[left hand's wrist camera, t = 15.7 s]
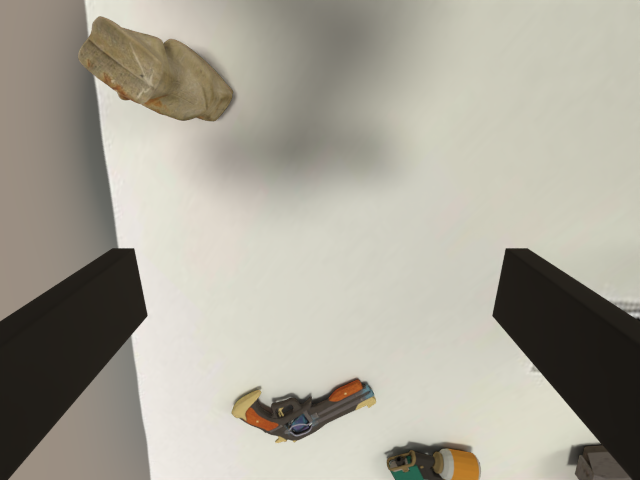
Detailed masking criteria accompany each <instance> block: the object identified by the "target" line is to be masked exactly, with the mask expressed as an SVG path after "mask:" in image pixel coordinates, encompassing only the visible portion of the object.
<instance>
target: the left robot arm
mask: <svg viewBox="0 0 640 480" xmlns="http://www.w3.org/2000/svg"><path fill="white" fill-rule="evenodd" d="M147 316H148V315H147V310H146V305H145V300H144V295H143V290H142V285H141V280H140V275H139V270H138V265H137V260H136V255H135V250H134V248H113V249H111V250H109V251H108V252H106V253H105V254H103V255H102V256H100V257H99V258H97V259H96V260H94V261H92V262H91V263H89V264H88V265H86V266H85V267H83V268H82V269H80V270H79V271H77V272H75V273H74V274H72V275H71V276H69V277H68V278H66V279H65V280H63V281H62V282H60V283H59V284H57V285H55V286H54V287H52V288H51V289H49V290H48V291H46V292H45V293H43V294H42V295H40V296H39V297H37V298H36V299H34V300H33V301H31V302H29V303H28V304H26V305H25V306H23V307H22V308H20V309H19V310H17V311H15V312H14V313H12V314H11V315H9V316H8V317H6V318H5V319H3V320H2V321H0V480H8V479H9V478H10V477H11V476H12V474H13V473H14V472H15V471H16V470H17V468H18V467H19V466H20V465H21V464H22V463H23V461H24V460H25V459H26V458H27V457H28V456H29V454H30V453H31V452H32V451H33V450H34V449H35V447H36V446H37V445H38V444H39V443H40V441H41V440H42V439H43V438H44V437H45V436H46V434H47V433H48V432H49V431H50V430H51V429H52V427H53V426H54V425H55V424H56V423H57V422H58V420H59V419H60V418H61V417H62V416H63V415H64V413H65V412H66V411H67V410H68V409H69V407H70V406H71V405H72V404H73V403H74V402H75V400H76V399H77V398H78V397H79V396H80V395H81V393H82V392H83V391H84V390H85V389H86V387H87V386H88V385H89V384H90V383H91V382H92V380H93V379H94V378H95V377H96V376H97V375H98V373H99V372H100V371H101V370H102V369H103V368H104V366H105V365H106V364H107V363H108V362H109V360H110V359H111V358H112V357H113V356H114V355H115V353H116V352H117V351H118V350H119V349H120V348H121V346H122V345H123V344H124V343H125V342H126V341H127V339H128V338H129V337H130V336H131V335H132V334H133V332H134V331H135V330H136V329H137V328H138V327H139V325H140V324H141V323H142V322H143V321H144V319H145V318H146V317H147ZM492 316H493V317H494V318H495V319H496V321H497V322H498V323H499V324H500V325H501V327H502V328H503V329H504V330H505V331H506V332H507V334H508V335H509V336H510V337H511V338H512V339H513V341H514V342H515V343H516V344H517V345H518V346H519V348H520V349H521V350H522V351H523V352H524V354H525V355H526V356H527V357H528V358H529V359H530V361H531V362H532V363H533V364H534V365H535V366H536V368H537V369H538V370H539V371H540V372H541V373H542V375H543V376H544V377H545V378H546V379H547V380H548V382H549V383H550V384H551V385H552V386H553V388H554V389H555V390H556V391H557V392H558V393H559V395H560V396H561V397H562V398H563V399H564V400H565V402H566V403H567V404H568V405H569V406H570V407H571V409H572V410H573V411H574V412H575V413H576V415H577V416H578V417H579V418H580V419H581V420H582V422H583V423H584V424H585V425H586V426H587V427H588V429H589V430H590V431H591V432H592V433H593V434H594V436H595V437H596V438H597V439H598V440H599V441H600V443H601V444H602V445H603V446H604V447H605V449H606V450H607V451H608V452H609V453H610V454H611V456H612V457H613V458H614V459H615V460H616V461H617V463H618V464H619V465H620V466H621V467H622V468H623V470H624V471H625V472H626V473H627V474H628V476H629V477H630V478H631V479H632V480H640V321H638V320H637V319H635V318H634V317H632V316H631V315H629V314H628V313H626V312H625V311H623V310H621V309H620V308H618V307H617V306H615V305H614V304H612V303H611V302H609V301H608V300H606V299H605V298H603V297H601V296H600V295H598V294H597V293H595V292H594V291H592V290H591V289H589V288H588V287H586V286H585V285H583V284H581V283H580V282H578V281H577V280H575V279H574V278H572V277H571V276H569V275H568V274H566V273H565V272H563V271H561V270H560V269H558V268H557V267H555V266H554V265H552V264H551V263H549V262H548V261H546V260H545V259H543V258H541V257H540V256H538V255H537V254H535V253H534V252H532V251H531V250H529V249H528V248H506V250H505V255H504V260H503V265H502V270H501V275H500V280H499V285H498V290H497V295H496V300H495V305H494V310H493V315H492Z"/></svg>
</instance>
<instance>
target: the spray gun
mask: <svg viewBox="0 0 640 480" xmlns="http://www.w3.org/2000/svg"><path fill="white" fill-rule="evenodd" d="M411 454H412V455H411ZM409 455H411V457H410V456H409ZM405 456H407V457H406V458H405ZM393 459H395V461H392V462H391V463H390V465H389V462H390V460H393ZM432 466H433V469H434V470H432V468H431V467H432ZM387 467H388V469H389V470H390V471H391V473H392V475H393V477H394V479H395V480H479V479H480V476H481V467H480V462H479V461H478V459H477V457H476V456H475V455H474V454H473V453H471V452H465V451H459V450H453V449H441V450H440V451H439V452H435V453H434V454H433V456H430V455H426V454H422V453H418V452H414V451H413V450H410V451H409V453H405V454H401V455H397V456H393V457H390V458H388V459H387Z"/></svg>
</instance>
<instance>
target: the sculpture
mask: <svg viewBox="0 0 640 480" xmlns="http://www.w3.org/2000/svg"><path fill="white" fill-rule="evenodd" d="M78 58H79V61H80V62H81V64H82V65H83V66H84V67H85V68H86V69H87V70H89V71H90V72H91V73H92V74H93V75H95V76H96V77H97V78H98V79H100V80H101V81H103V82H104V83H105V84H107V85H108V86H109V87H111V88H112V89H113V90H115V91H116V92H117V93H118V95H119V97H120V98H121V99H122V100H132V101H134V102H136V103H139V104H142V105H143V106H145V107H147V108H149V109H151V110H153V111H155V112H157V113H159V114H162V115H166V116H169V117H172V118H175V119H177V120H182V121H185V120H190V119H193V118H199V119H202V120H206V121H216V120H217V119H218V118H219V117H220V116H221V114H222V113H223V112H224V111H225V109H226V108H227V106H228V105H229V103H230V101H231V99H232V94H233V91H232V89H231V88H230V87H229V86H228V85H227V84H226V83H225V82H224V80H223V79H222V78H221V77H220V76H219V74H218V73H217V72H216V71H215V70H214V69H213V68H212V67H211V66H210V65H209V64H208V63H207V62H206V61H205V60H203V59H202V58H201V57H200V56H199V55H198V54H196V53H195V52H194V51H193V50H191V49H190V48H189V47H188V46H186V45H185V44H183V43H181V42H179V41H177V40H174V39H169V40H167V41H166V42H165V43H164V44H163V42H162V40H161V39H159V38H157V37H154V36H151V35H147V34H143V33H139V32H135V31H132V30H129V29H125V28H122V27H120V26H119V25H118V24H116V23H115V22H113V21H111V20H109V19H107V18H104V17H101V16H99V17H98V18H97V19H96V20H95V21H94V22H93V24H92V31H91V34H90V36H89V37H88V39H87V40H86V41H85V43H84V44H83V45H82V47H81V49H80V50H79V54H78Z"/></svg>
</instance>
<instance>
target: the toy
mask: <svg viewBox="0 0 640 480" xmlns="http://www.w3.org/2000/svg"><path fill="white" fill-rule="evenodd" d="M575 475H576V476H577V478H578V479H579V480H632V479H631V478H630V477H629V476H628V474H627V473H626V472H625V471H624V470H623V468H622V467H621V466H620V465H619V464H618V463H617V461H616V460H615V459H614V458H613V457H612V456H611V454H610V453H609V452H608V451H607V450H606V449H605V447H604V446H603V445H599V446H585V448H584V451H583V455H579V459H578V463H577V468H576V472H575Z"/></svg>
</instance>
